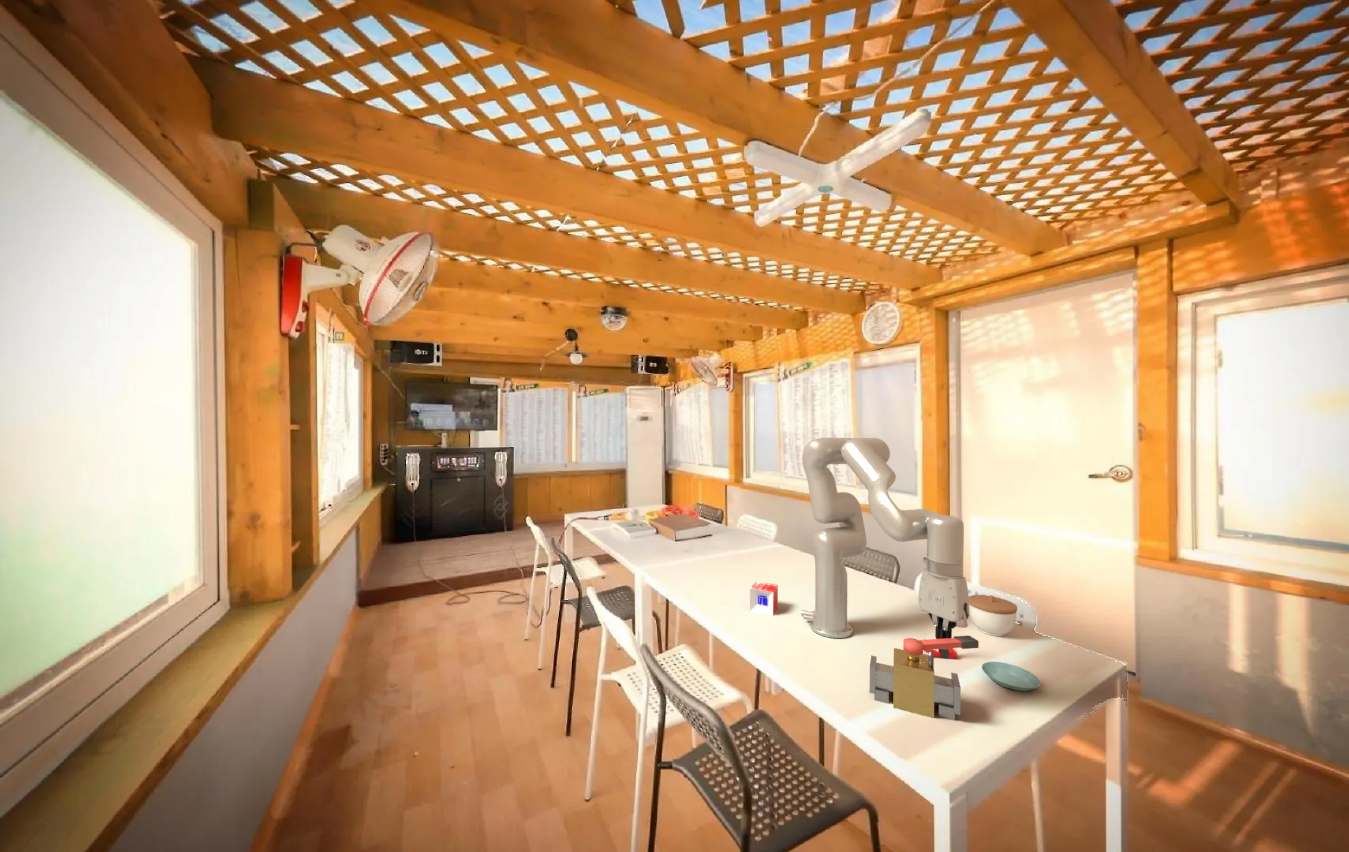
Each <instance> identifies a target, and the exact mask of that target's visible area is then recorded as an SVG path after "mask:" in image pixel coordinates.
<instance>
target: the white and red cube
mask: <svg viewBox="0 0 1349 852" xmlns="http://www.w3.org/2000/svg"><path fill="white" fill-rule="evenodd" d="M778 599H779V585H778V584H776V583H769V582H761V581H755V582H753V584H752V585H751V587H750V588H749V612H751V611H752V612H751V613H758V614H762V613H764V614H763V615H769V616H774V615H773V614H775V612H776V611H777V609H778V607H779V605H778V604H779V603H778V602H779V601H778Z"/></svg>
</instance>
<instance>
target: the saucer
mask: <svg viewBox="0 0 1349 852" xmlns="http://www.w3.org/2000/svg"><path fill="white" fill-rule="evenodd" d="M981 670H982V671H983V673H984V674H985V675H987V677H989V679H991V680H992V681H993V682H995V683H996V684H998V685H1000V686H1002V687H1004V688H1006V689H1009V690H1013V691H1021V692H1024V691H1031V690H1034V689H1036V688H1038V687H1039V686H1041V680H1040V678H1038V677H1037V676H1036V675H1035V674H1034V673H1032V672H1031V671H1028V670H1027V669H1024V668H1022V667H1020V666H1017V665H1015V664H1011V663H1006V662H1002V661H986V662H984V663H983V664H981Z"/></svg>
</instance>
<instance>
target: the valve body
mask: <svg viewBox="0 0 1349 852" xmlns="http://www.w3.org/2000/svg"><path fill="white" fill-rule="evenodd" d="M934 662H935V657H934V652H933V651H929V653H928V654H926V653H923V654H922V655H913V654H909V653H907V652H905V651H904V649H901V648H896V647H894V648H893V665H891V664H890V665H889V664H885V663H881V662H877V656H875V655H871V656H870V662H869V693H870V694H873V696H874V697H873V700H874V701H877V702H880V703H885V704H890V703H889V700H890V699H889V698H890V692H893V696H892V698H893V699H892V700H893V701H892V704H893V705H892V707H893V709H898V710H902V711H905V712H908V713H909V712H910V713H913V714H917V715H922V716H925V717H929V718H933V719H934V718H935V703H937V704H936V705H937V711H938V712H937V713H938V714H937V715H938V716H939V717H940V718H945V719H949V720H953V721H955V720H956V715H958V716H961V703H962V702H961V700H962V699H961V696H962V695H961V694H962V693H961V691H962V690H961V683H960V679H959V675H958V673H957V672H951V673H950V678H948V677H944V676H941V675H940V676H939V675H935V668H934V666H935V663H934Z"/></svg>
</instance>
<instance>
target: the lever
mask: <svg viewBox="0 0 1349 852" xmlns="http://www.w3.org/2000/svg"><path fill="white" fill-rule="evenodd" d="M902 646H903V649H902V650H904V651H905V652H907V653H909V654H913V655H922V654H924V651H925V650H931V649H933V650H938V649H947V648H953V649H959V648H960V649H962V650H968V649H970V650H971V649H979V647H980V646H979V640H978V639H976V638H974V637H973V636H971V635H955V636H953V637H952V638H945V639H936V638H933V639H916V638H913V637H912V638H911V637H906V638H903V645H902Z"/></svg>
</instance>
